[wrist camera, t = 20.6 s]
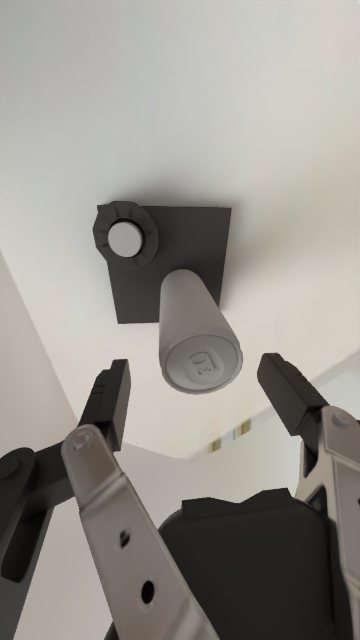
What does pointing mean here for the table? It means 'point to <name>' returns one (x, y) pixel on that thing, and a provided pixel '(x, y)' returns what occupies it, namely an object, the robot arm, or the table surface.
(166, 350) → the beverage can
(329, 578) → the robot arm
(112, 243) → the button
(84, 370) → the table surface
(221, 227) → the scale
